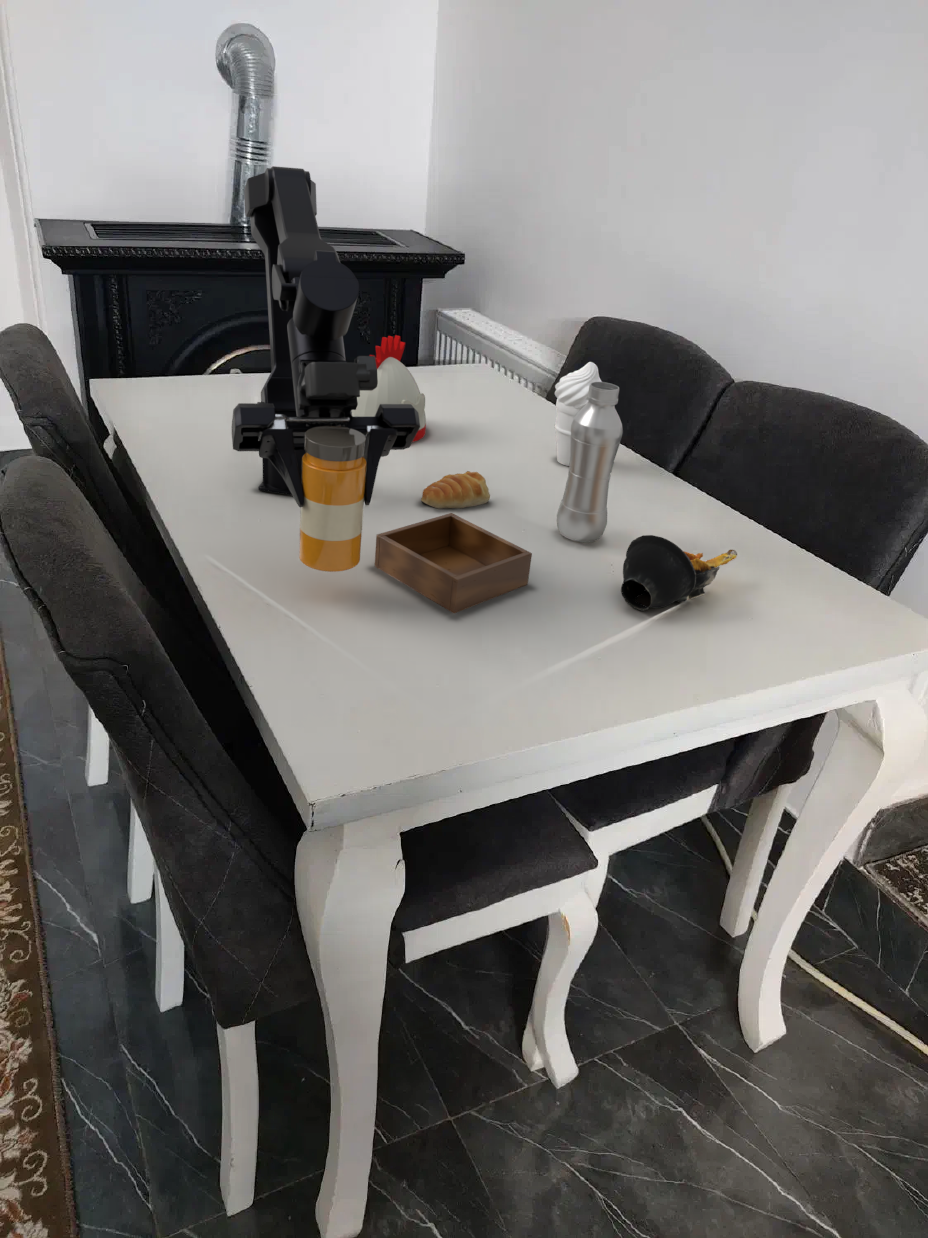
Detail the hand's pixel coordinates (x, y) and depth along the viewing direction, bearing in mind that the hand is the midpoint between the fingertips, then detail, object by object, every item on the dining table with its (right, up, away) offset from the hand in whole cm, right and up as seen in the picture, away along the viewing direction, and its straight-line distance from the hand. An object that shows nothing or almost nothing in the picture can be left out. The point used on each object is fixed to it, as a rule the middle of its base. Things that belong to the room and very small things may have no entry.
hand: (334, 504), depth 93 cm
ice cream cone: (+30, +13, +53) cm, 62 cm away
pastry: (+12, +4, +34) cm, 36 cm away
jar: (-1, -5, +5) cm, 7 cm away
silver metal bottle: (+28, -1, +28) cm, 39 cm away
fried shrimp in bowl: (+38, -9, +15) cm, 42 cm away
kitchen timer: (0, +19, +58) cm, 61 cm away
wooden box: (+12, -7, +14) cm, 19 cm away
